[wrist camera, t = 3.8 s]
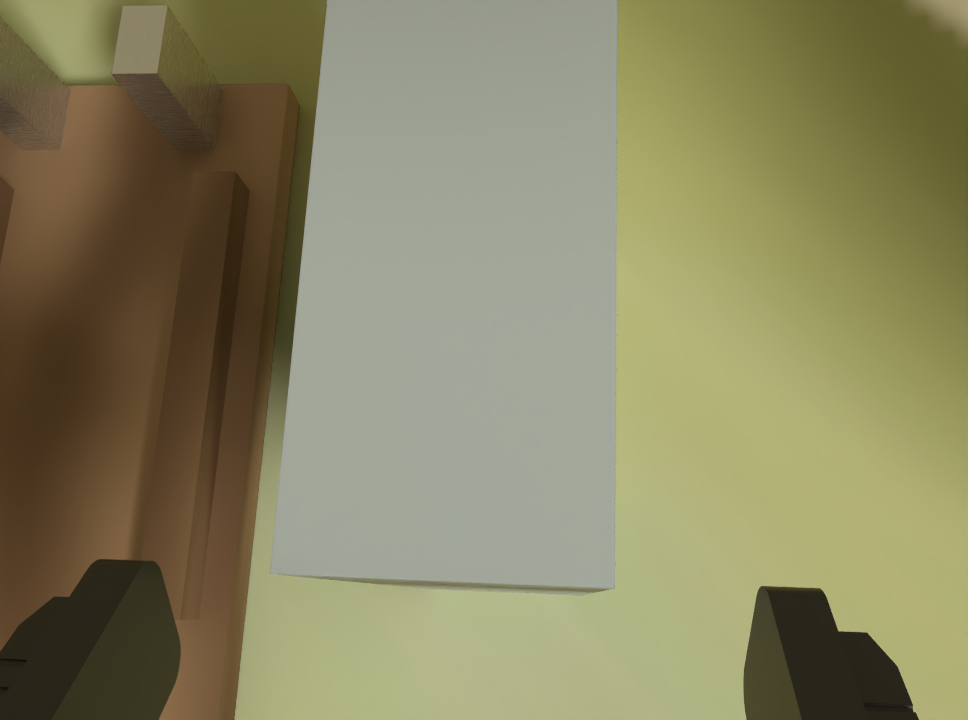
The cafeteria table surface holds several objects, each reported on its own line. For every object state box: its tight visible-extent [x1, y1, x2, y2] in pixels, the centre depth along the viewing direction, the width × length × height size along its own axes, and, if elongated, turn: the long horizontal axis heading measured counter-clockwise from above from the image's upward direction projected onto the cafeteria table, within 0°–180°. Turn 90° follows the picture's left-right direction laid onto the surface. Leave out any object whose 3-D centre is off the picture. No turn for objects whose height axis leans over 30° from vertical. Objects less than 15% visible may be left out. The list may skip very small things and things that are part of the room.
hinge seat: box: [0, 5, 299, 720], centre depth 24 cm, size 10×19×5 cm, turn 178°
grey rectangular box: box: [270, 0, 617, 595], centre depth 18 cm, size 4×11×14 cm, turn 178°
